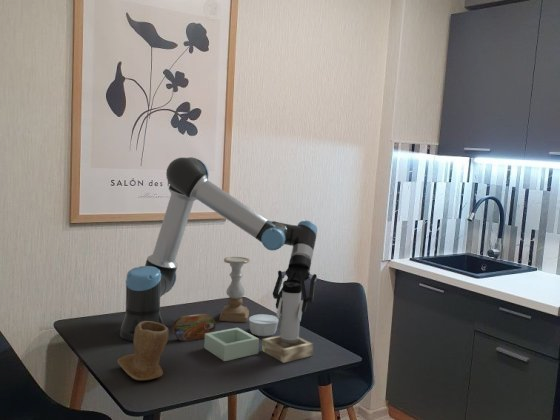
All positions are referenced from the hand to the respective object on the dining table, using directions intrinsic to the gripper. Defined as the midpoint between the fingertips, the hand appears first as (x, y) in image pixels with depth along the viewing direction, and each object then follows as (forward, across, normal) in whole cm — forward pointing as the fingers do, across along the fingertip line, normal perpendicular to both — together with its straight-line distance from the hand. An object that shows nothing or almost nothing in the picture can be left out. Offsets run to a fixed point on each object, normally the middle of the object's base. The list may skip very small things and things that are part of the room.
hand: (288, 318), depth 167 cm
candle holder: (-14, +29, -33) cm, 46 cm away
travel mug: (+4, 0, -9) cm, 9 cm away
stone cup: (+28, +37, +9) cm, 47 cm away
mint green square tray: (+10, +18, -9) cm, 23 cm away
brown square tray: (+7, 0, -12) cm, 13 cm away
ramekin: (-5, +13, -24) cm, 28 cm away
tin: (+5, +35, -14) cm, 38 cm away
